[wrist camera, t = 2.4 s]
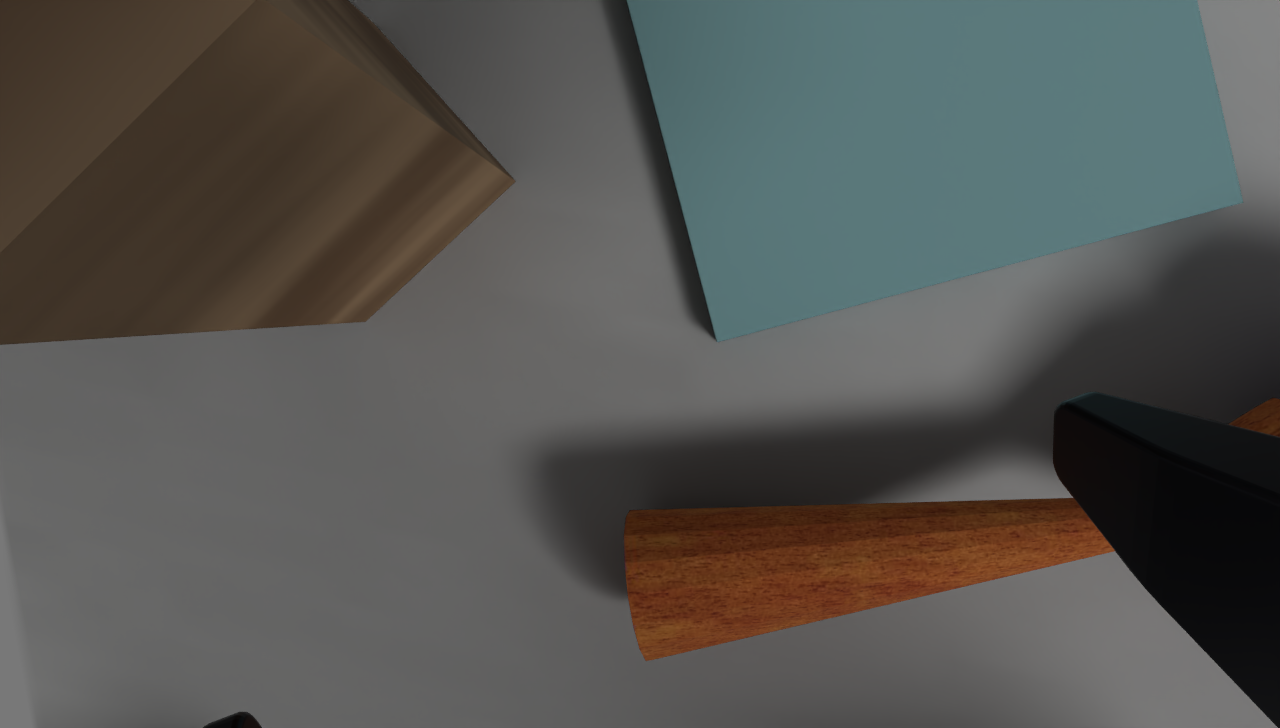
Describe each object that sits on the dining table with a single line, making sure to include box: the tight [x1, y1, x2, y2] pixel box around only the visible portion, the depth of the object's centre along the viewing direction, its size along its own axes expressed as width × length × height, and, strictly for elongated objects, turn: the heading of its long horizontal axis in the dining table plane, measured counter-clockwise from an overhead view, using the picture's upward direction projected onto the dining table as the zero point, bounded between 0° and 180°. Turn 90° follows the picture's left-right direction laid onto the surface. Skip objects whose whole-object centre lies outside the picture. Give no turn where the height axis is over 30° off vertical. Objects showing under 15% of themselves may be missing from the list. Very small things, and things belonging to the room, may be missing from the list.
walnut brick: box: [0, 0, 515, 345], centre depth 15 cm, size 5×5×13 cm
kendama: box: [624, 398, 1280, 661], centre depth 19 cm, size 6×6×20 cm
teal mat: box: [626, 0, 1243, 342], centre depth 20 cm, size 12×12×1 cm
